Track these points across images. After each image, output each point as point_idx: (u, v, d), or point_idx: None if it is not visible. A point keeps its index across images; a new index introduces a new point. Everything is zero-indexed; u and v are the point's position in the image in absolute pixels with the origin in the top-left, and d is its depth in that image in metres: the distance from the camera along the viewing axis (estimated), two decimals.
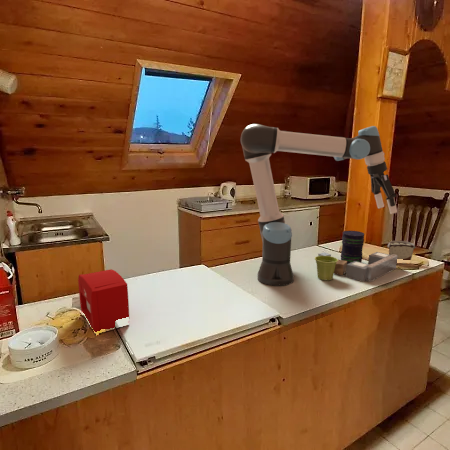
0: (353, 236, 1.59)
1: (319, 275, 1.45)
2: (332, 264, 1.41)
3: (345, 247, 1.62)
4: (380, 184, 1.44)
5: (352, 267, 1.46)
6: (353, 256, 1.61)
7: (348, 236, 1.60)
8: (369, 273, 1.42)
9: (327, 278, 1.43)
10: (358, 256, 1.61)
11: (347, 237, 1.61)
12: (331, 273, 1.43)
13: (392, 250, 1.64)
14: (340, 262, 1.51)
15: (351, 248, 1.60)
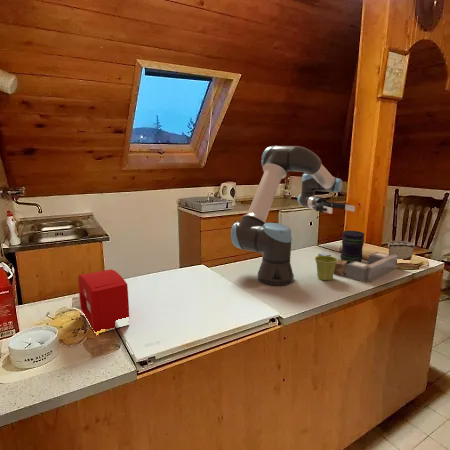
0: (353, 236, 1.59)
1: (319, 275, 1.45)
2: (332, 264, 1.41)
3: (345, 247, 1.62)
4: (333, 202, 1.82)
5: (352, 267, 1.46)
6: (353, 256, 1.61)
7: (348, 236, 1.60)
8: (369, 273, 1.42)
9: (327, 278, 1.43)
10: (358, 256, 1.61)
11: (347, 237, 1.61)
12: (331, 273, 1.43)
13: (392, 250, 1.64)
14: (340, 262, 1.51)
15: (351, 248, 1.60)
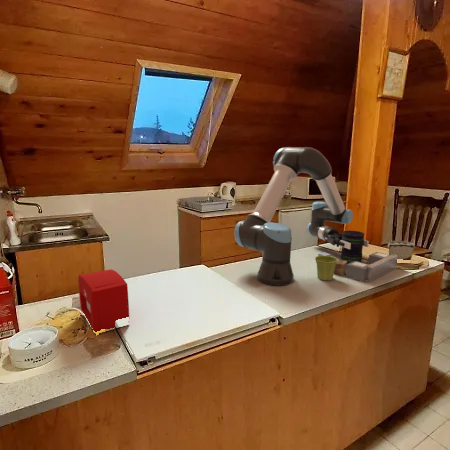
0: (353, 236, 1.59)
1: (319, 275, 1.45)
2: (332, 264, 1.41)
3: None
4: None
5: (352, 267, 1.46)
6: (353, 256, 1.61)
7: (348, 236, 1.60)
8: (369, 273, 1.42)
9: (327, 278, 1.43)
10: (358, 256, 1.61)
11: (347, 237, 1.61)
12: (331, 273, 1.43)
13: (392, 250, 1.64)
14: (340, 262, 1.51)
15: (351, 248, 1.60)
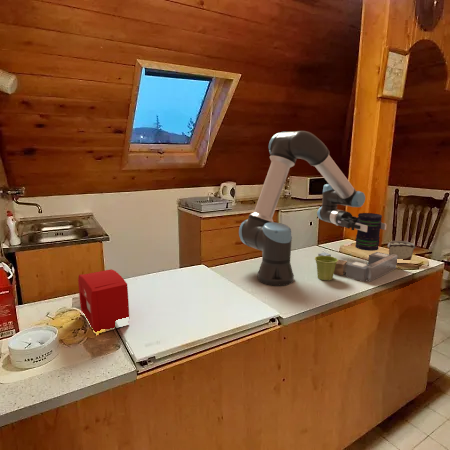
0: (370, 217, 1.46)
1: (319, 275, 1.45)
2: (332, 264, 1.41)
3: None
4: None
5: (352, 267, 1.46)
6: (370, 240, 1.48)
7: (364, 218, 1.48)
8: (369, 273, 1.42)
9: (327, 278, 1.43)
10: (375, 240, 1.48)
11: (363, 219, 1.48)
12: (331, 273, 1.43)
13: (392, 250, 1.64)
14: (340, 262, 1.51)
15: (368, 231, 1.48)
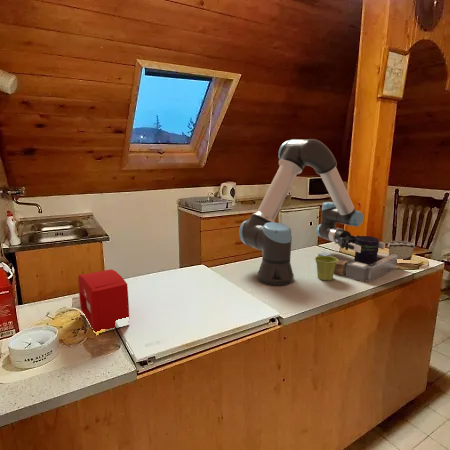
0: (367, 242, 1.49)
1: (319, 275, 1.45)
2: (332, 264, 1.41)
3: (359, 254, 1.52)
4: None
5: (352, 267, 1.46)
6: (367, 263, 1.50)
7: (362, 242, 1.50)
8: (369, 273, 1.42)
9: (327, 278, 1.43)
10: None
11: (361, 243, 1.50)
12: (331, 273, 1.43)
13: (392, 250, 1.64)
14: (340, 262, 1.51)
15: (366, 255, 1.50)
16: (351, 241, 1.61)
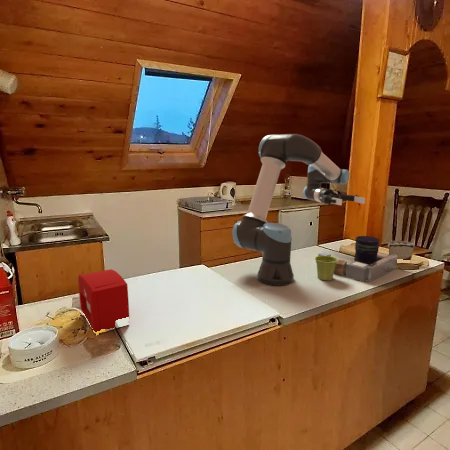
0: (367, 242, 1.49)
1: (319, 275, 1.45)
2: (332, 264, 1.41)
3: (359, 254, 1.52)
4: (341, 194, 1.72)
5: (352, 267, 1.46)
6: (367, 263, 1.50)
7: (362, 242, 1.50)
8: (369, 273, 1.42)
9: (327, 278, 1.43)
10: None
11: (361, 243, 1.50)
12: (331, 273, 1.43)
13: (392, 250, 1.64)
14: (340, 262, 1.51)
15: (366, 255, 1.50)
16: (334, 198, 1.70)
